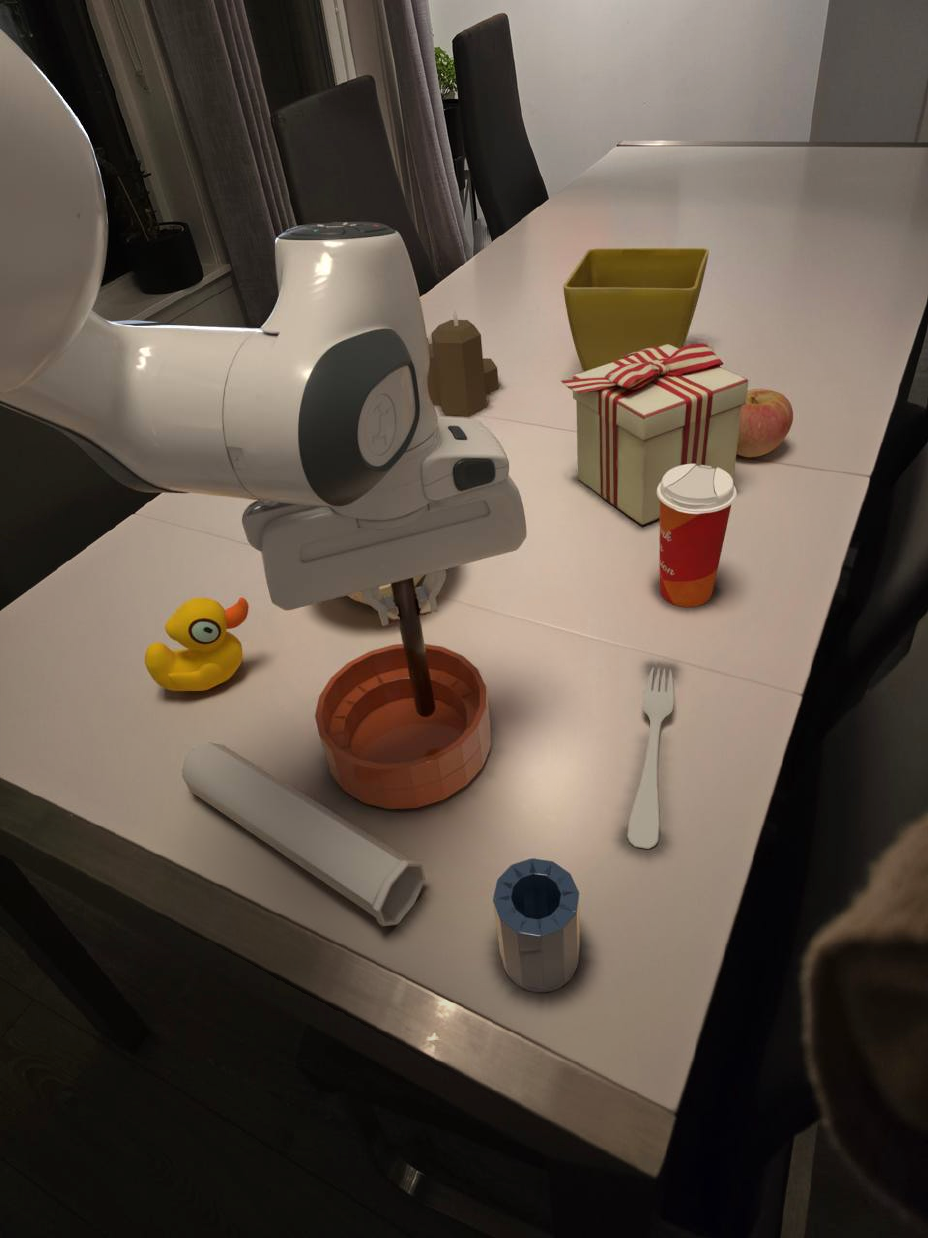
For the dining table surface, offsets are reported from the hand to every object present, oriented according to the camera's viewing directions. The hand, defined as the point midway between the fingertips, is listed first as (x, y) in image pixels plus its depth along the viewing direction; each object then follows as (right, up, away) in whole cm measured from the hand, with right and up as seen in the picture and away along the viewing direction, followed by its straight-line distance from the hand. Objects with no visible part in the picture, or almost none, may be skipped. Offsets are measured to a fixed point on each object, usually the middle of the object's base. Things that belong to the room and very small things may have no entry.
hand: (408, 614), depth 66 cm
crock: (+10, -25, -7) cm, 28 cm away
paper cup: (+29, +2, +23) cm, 37 cm away
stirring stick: (+1, -9, +8) cm, 12 cm away
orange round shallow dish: (0, -12, +9) cm, 15 cm away
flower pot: (+32, +40, +66) cm, 83 cm away
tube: (-10, -19, +3) cm, 22 cm away
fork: (+22, -12, +6) cm, 26 cm away
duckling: (-22, -7, +19) cm, 30 cm away
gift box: (+28, +17, +40) cm, 52 cm away
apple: (+44, +22, +44) cm, 66 cm away
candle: (+4, +35, +65) cm, 74 cm away
